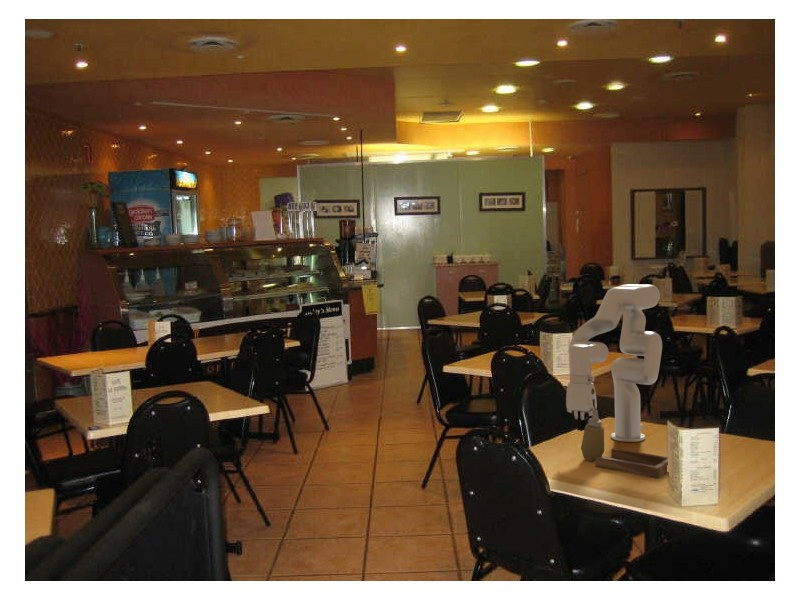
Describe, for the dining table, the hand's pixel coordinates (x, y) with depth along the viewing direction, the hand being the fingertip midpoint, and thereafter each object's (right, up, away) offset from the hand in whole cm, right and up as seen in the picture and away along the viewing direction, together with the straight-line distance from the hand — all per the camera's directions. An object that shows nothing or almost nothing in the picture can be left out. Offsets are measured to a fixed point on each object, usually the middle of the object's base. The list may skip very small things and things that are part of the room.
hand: (581, 429), depth 268 cm
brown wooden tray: (+15, -11, -12) cm, 22 cm away
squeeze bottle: (+3, -10, -1) cm, 11 cm away
